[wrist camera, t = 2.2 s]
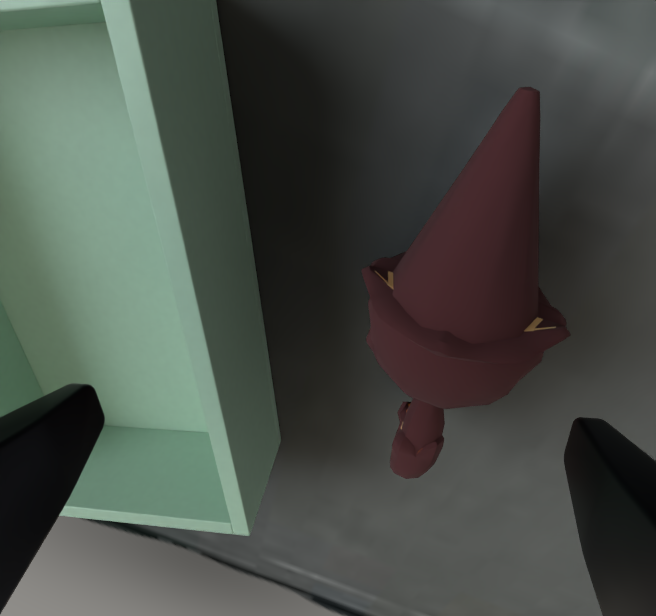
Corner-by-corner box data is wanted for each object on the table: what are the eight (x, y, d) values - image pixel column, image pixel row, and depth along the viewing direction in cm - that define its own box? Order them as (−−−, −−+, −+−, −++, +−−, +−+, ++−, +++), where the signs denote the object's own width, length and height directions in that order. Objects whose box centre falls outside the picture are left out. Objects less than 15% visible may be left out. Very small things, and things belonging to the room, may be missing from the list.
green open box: (214, -14, 16) (121, -40, 11) (281, 440, 27) (250, 536, 21) (-131, 19, 19) (-344, 9, 13) (55, 423, 29) (-23, 507, 24)
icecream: (361, 78, 11) (310, 461, 20) (710, 145, 9) (483, 539, 18) (429, 54, 16) (366, 365, 25) (660, 93, 14) (504, 416, 23)
